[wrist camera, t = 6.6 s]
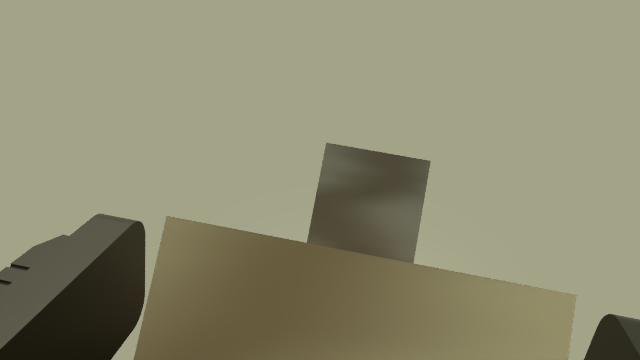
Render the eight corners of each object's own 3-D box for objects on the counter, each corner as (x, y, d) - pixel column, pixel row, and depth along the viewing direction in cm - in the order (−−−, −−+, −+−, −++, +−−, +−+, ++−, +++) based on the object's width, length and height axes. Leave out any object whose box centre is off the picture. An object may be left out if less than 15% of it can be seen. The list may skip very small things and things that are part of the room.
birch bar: (94, 532, 5) (248, -145, 6) (303, 312, 25) (332, 164, 26) (531, 644, 5) (626, -96, 6) (390, 330, 24) (416, 179, 25)
